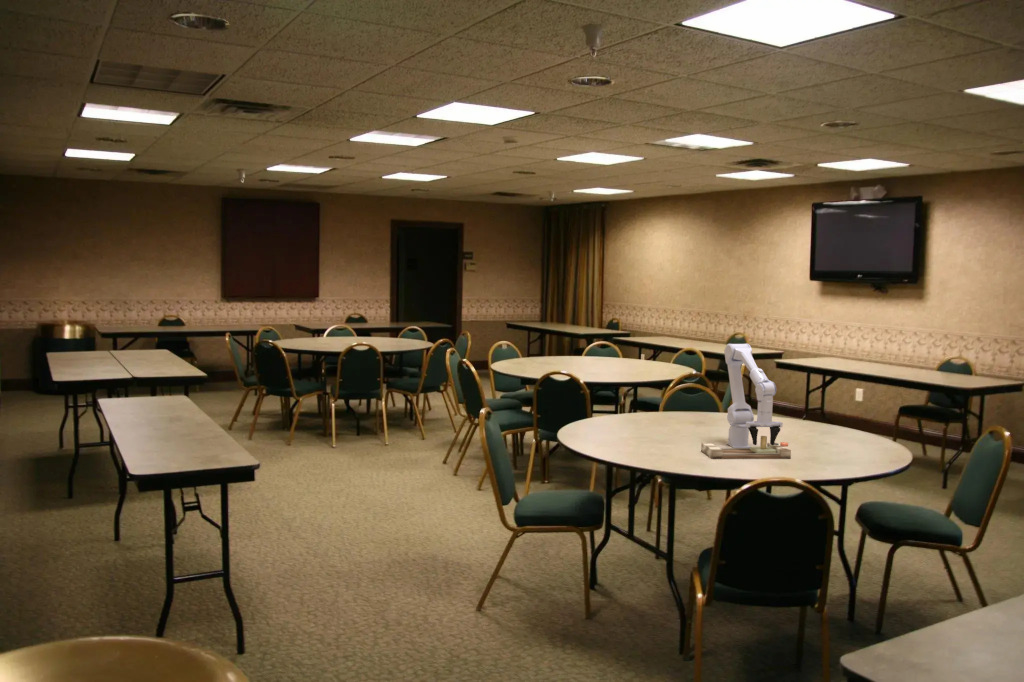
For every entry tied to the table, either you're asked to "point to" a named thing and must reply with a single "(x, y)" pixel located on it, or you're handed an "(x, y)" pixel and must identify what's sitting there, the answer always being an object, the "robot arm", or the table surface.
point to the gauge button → (784, 444)
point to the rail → (744, 452)
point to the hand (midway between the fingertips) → (763, 444)
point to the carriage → (763, 447)
